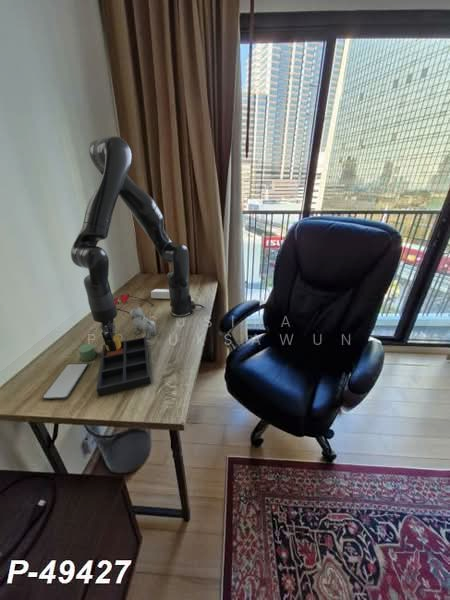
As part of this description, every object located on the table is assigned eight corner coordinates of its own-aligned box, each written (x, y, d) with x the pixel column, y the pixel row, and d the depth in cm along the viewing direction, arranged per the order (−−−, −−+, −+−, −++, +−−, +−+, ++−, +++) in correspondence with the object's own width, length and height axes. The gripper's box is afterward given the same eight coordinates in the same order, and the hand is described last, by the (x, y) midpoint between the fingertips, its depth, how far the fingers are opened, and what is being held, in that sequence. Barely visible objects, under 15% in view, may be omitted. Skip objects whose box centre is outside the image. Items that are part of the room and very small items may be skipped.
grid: (146, 342, 99) (145, 336, 98) (151, 383, 80) (149, 376, 79) (104, 351, 95) (103, 344, 94) (98, 396, 76) (96, 389, 74)
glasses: (128, 299, 133) (127, 291, 131) (153, 305, 127) (152, 296, 124) (107, 311, 122) (105, 302, 120) (133, 318, 116) (131, 309, 113)
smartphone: (88, 363, 88) (65, 397, 75) (88, 364, 88) (66, 398, 75) (68, 363, 88) (41, 398, 75) (68, 364, 88) (42, 399, 75)
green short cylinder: (97, 350, 95) (94, 342, 93) (95, 359, 91) (92, 350, 89) (82, 353, 94) (79, 345, 92) (80, 362, 89) (77, 353, 88)
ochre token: (121, 341, 94) (119, 332, 92) (120, 349, 89) (118, 340, 88) (106, 344, 92) (104, 335, 90) (105, 352, 88) (103, 343, 86)
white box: (178, 296, 138) (178, 282, 137) (175, 298, 131) (174, 284, 130) (155, 295, 139) (155, 281, 138) (151, 298, 132) (150, 283, 131)
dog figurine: (140, 324, 111) (136, 303, 106) (158, 334, 104) (155, 312, 99) (129, 330, 107) (125, 308, 103) (148, 340, 100) (144, 318, 96)
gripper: (113, 313, 78) (124, 356, 86) (115, 294, 90) (124, 333, 98) (87, 317, 76) (100, 361, 84) (92, 297, 88) (104, 337, 96)
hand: (113, 345), depth 91 cm, fingers closed on ochre token, 5 cm apart
